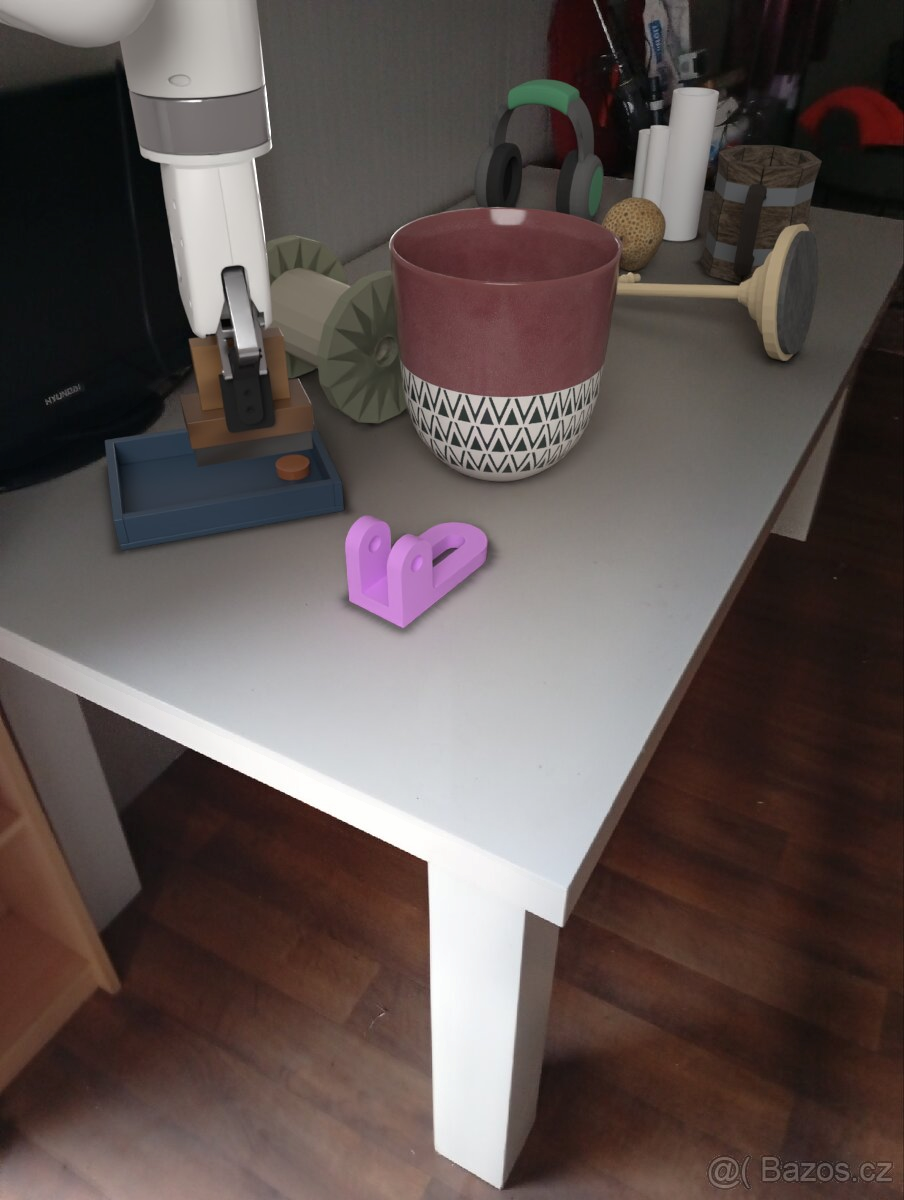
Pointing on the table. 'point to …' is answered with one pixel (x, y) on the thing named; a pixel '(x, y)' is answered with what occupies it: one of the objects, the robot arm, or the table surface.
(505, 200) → the headphones
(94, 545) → the table surface
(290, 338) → the spool
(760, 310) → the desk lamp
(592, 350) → the planter
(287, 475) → the orange disc
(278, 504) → the tray
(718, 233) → the mug
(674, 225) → the vase
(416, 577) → the bracket
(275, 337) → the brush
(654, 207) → the natural sponge
